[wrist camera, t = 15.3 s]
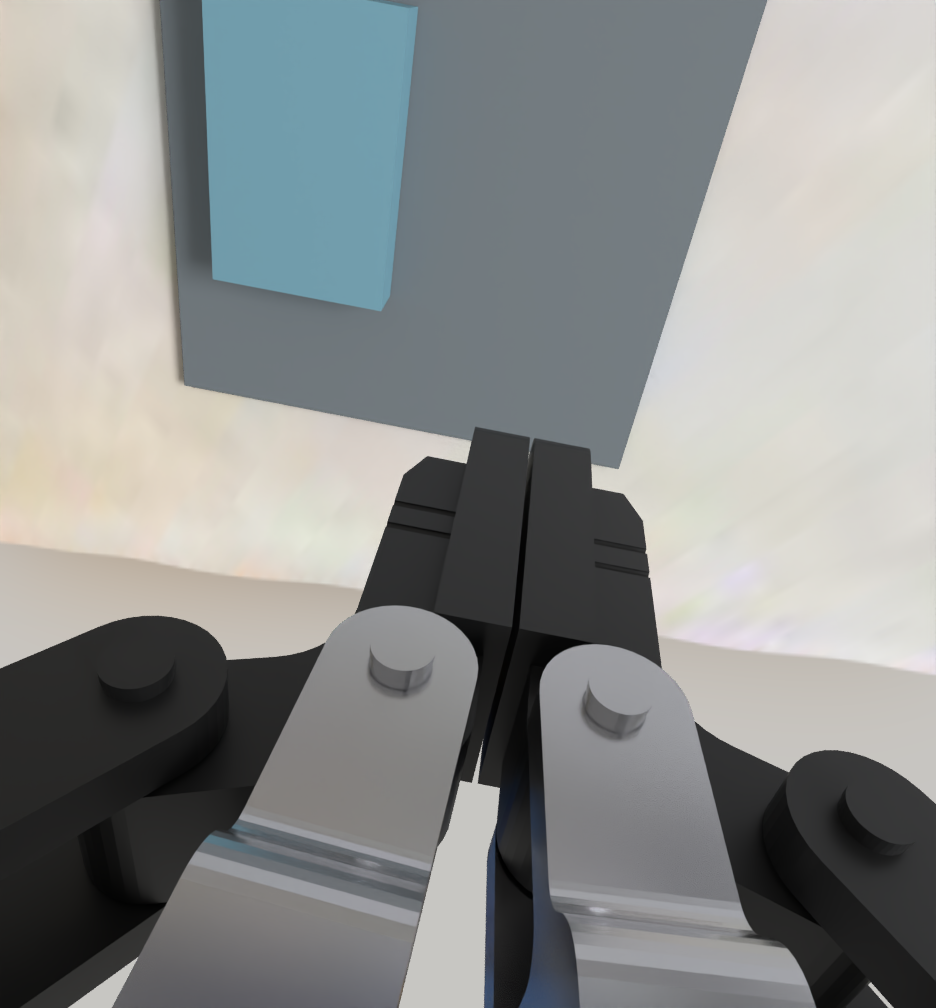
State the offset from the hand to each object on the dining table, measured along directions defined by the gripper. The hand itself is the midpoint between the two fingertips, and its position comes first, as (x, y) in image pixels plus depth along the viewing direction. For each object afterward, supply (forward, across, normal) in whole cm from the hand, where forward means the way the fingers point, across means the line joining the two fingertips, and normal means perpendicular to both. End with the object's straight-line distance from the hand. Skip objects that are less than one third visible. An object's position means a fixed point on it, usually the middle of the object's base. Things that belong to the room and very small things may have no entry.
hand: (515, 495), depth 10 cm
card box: (+18, +5, 0) cm, 18 cm away
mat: (+19, +4, 0) cm, 19 cm away
